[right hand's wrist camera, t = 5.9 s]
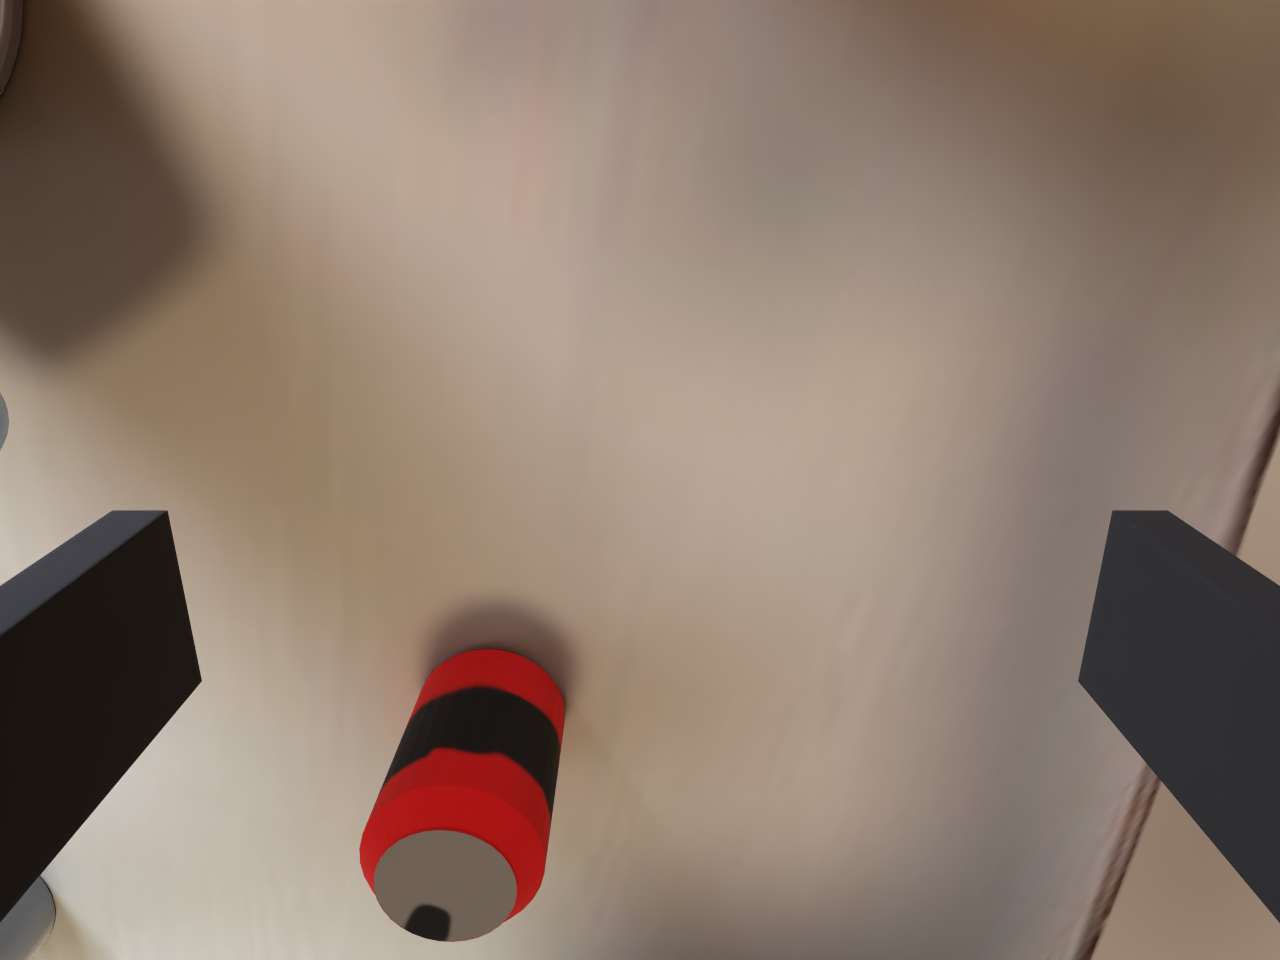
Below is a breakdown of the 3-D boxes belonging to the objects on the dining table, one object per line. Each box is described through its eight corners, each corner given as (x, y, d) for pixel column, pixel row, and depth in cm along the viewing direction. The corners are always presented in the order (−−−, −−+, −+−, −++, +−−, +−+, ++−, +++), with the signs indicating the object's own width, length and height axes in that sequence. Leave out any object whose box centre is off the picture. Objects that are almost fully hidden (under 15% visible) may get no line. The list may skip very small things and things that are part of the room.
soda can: (403, 742, 47) (328, 929, 35) (444, 625, 44) (377, 785, 33) (538, 784, 48) (506, 979, 36) (586, 672, 45) (567, 843, 34)
